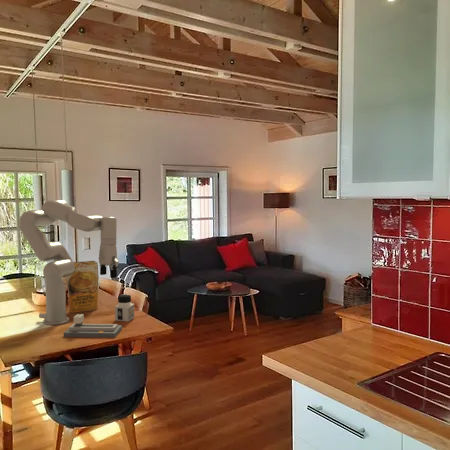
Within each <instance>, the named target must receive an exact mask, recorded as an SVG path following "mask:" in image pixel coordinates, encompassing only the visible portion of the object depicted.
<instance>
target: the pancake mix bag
mask: <svg viewBox="0 0 450 450" xmlns="http://www.w3.org/2000/svg"><path fill="white" fill-rule="evenodd" d="M73 263H74V265H75V271H74V273H73V274H72V275H70V276H67V277H65V279H66V286H67V293H68V300H69V309H68V314H69V313H73V314H76V313H85V312H91V311H96V310H97V309H99V306H98V300H99V286H100V285H99V283H100V282H99V279H100V278H99V264H98V262H97V261H96V260H87V261H86V260H85V261H73Z"/></svg>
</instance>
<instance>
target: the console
mask: <svg viewBox="0 0 450 450" xmlns="http://www.w3.org/2000/svg"><path fill="white" fill-rule="evenodd" d="M122 330H123V325H121V324H117V323H115V324H114V323H82V327H75V323H72V324H71V325H70V326H69V327H68V329H66V330H65V331H63V338H116V337H117V336H118V335H119V334H120V332H121V331H122Z"/></svg>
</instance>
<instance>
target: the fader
mask: <svg viewBox="0 0 450 450" xmlns="http://www.w3.org/2000/svg"><path fill="white" fill-rule="evenodd" d="M84 319H85V314H84V313H78V314H76V315H74V316H73V324H75V327H82V324H83V322H84V321H85V320H84Z"/></svg>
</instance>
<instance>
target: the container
mask: <svg viewBox="0 0 450 450" xmlns="http://www.w3.org/2000/svg"><path fill="white" fill-rule="evenodd" d="M117 303H118V304H117V305H115V306H114V321H115V322H116V321H118V322H130V321H131V320H133V319H134V318H135V303H132V296H131V294H126V293H125V294H119V295H118V296H117Z"/></svg>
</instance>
